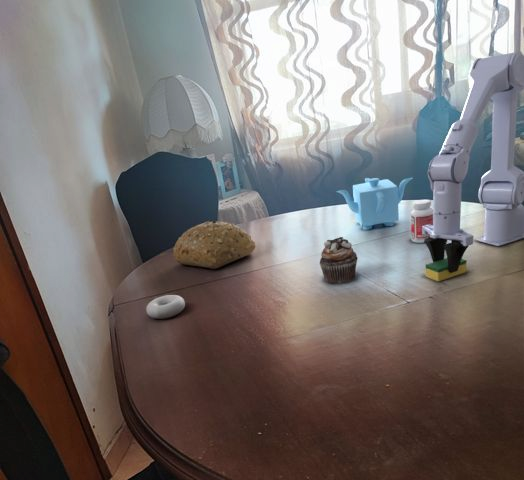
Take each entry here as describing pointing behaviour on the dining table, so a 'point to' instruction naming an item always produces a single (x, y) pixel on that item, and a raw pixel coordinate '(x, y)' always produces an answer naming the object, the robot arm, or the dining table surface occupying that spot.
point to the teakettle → (375, 201)
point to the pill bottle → (420, 219)
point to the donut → (165, 306)
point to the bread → (212, 245)
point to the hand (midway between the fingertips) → (445, 268)
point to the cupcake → (338, 261)
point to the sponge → (443, 270)
